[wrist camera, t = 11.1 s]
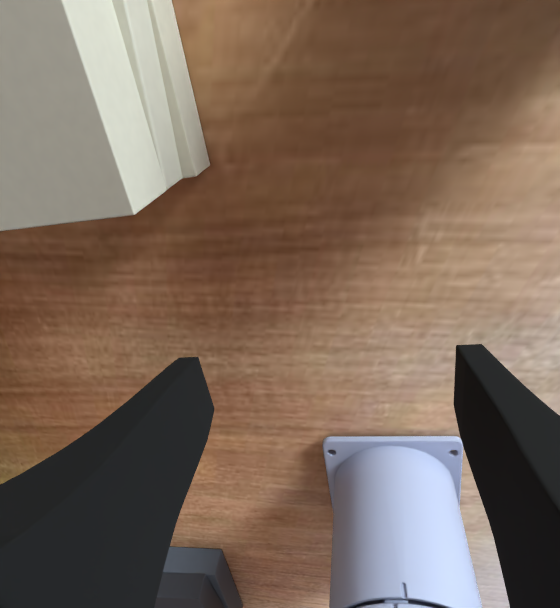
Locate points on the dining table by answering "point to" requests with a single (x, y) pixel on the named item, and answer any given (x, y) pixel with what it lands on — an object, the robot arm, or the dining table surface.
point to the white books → (163, 86)
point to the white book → (70, 117)
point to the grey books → (197, 580)
